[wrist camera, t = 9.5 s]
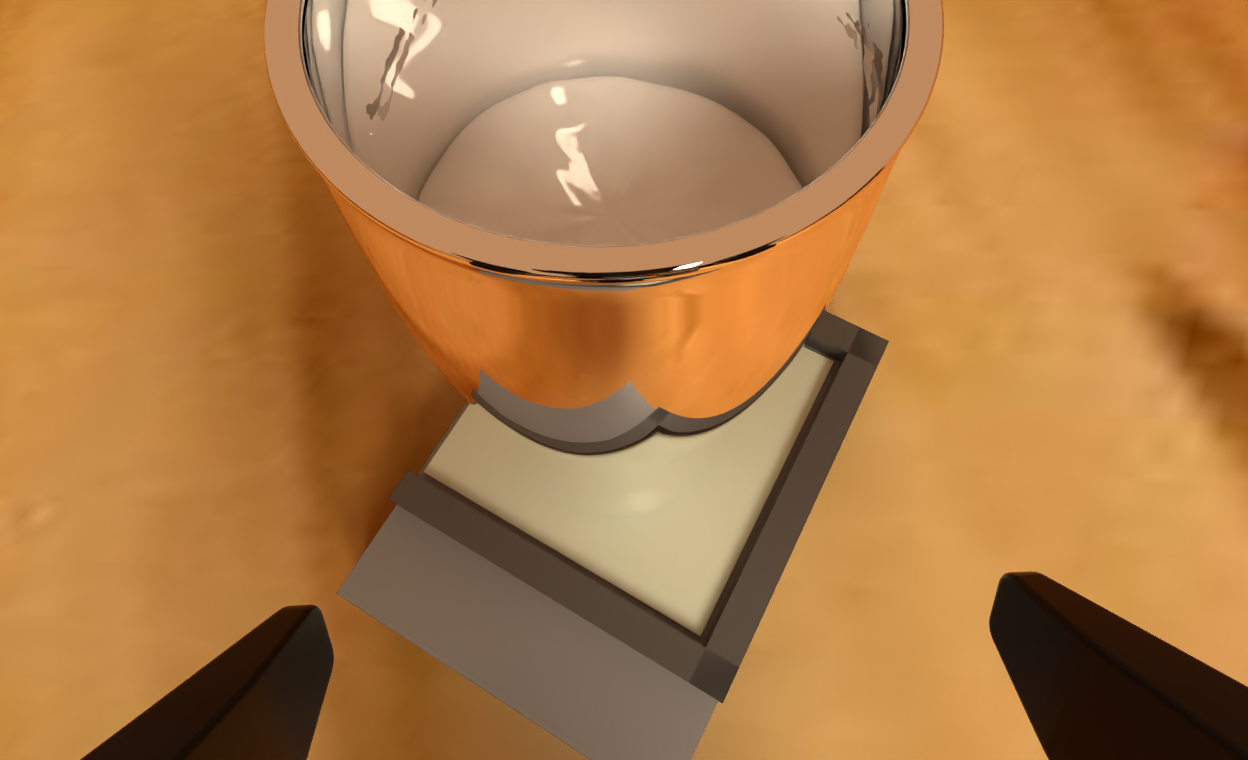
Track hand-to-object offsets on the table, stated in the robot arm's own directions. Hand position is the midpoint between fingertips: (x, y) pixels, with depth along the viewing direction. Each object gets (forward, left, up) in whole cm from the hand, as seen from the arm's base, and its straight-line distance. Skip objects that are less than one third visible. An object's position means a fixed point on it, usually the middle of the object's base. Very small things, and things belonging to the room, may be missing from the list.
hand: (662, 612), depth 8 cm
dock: (+4, +3, -13) cm, 14 cm away
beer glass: (+5, +3, -11) cm, 12 cm away
